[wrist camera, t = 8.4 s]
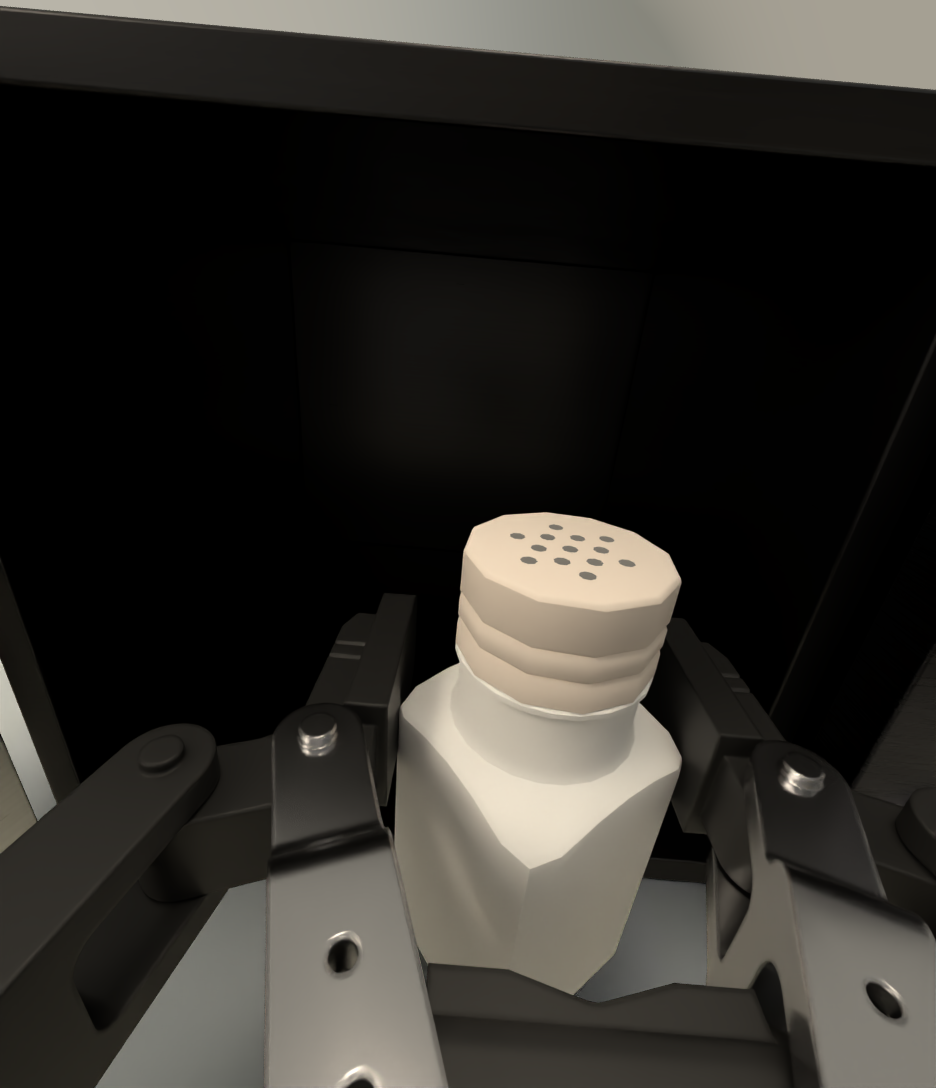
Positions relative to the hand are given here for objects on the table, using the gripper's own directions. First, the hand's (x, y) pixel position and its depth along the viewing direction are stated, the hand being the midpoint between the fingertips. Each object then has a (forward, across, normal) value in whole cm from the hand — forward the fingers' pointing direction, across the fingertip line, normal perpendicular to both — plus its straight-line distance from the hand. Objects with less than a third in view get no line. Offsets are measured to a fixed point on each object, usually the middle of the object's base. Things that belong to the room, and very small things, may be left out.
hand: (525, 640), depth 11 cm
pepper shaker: (-3, 0, +6) cm, 7 cm away
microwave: (+11, 0, +10) cm, 14 cm away
